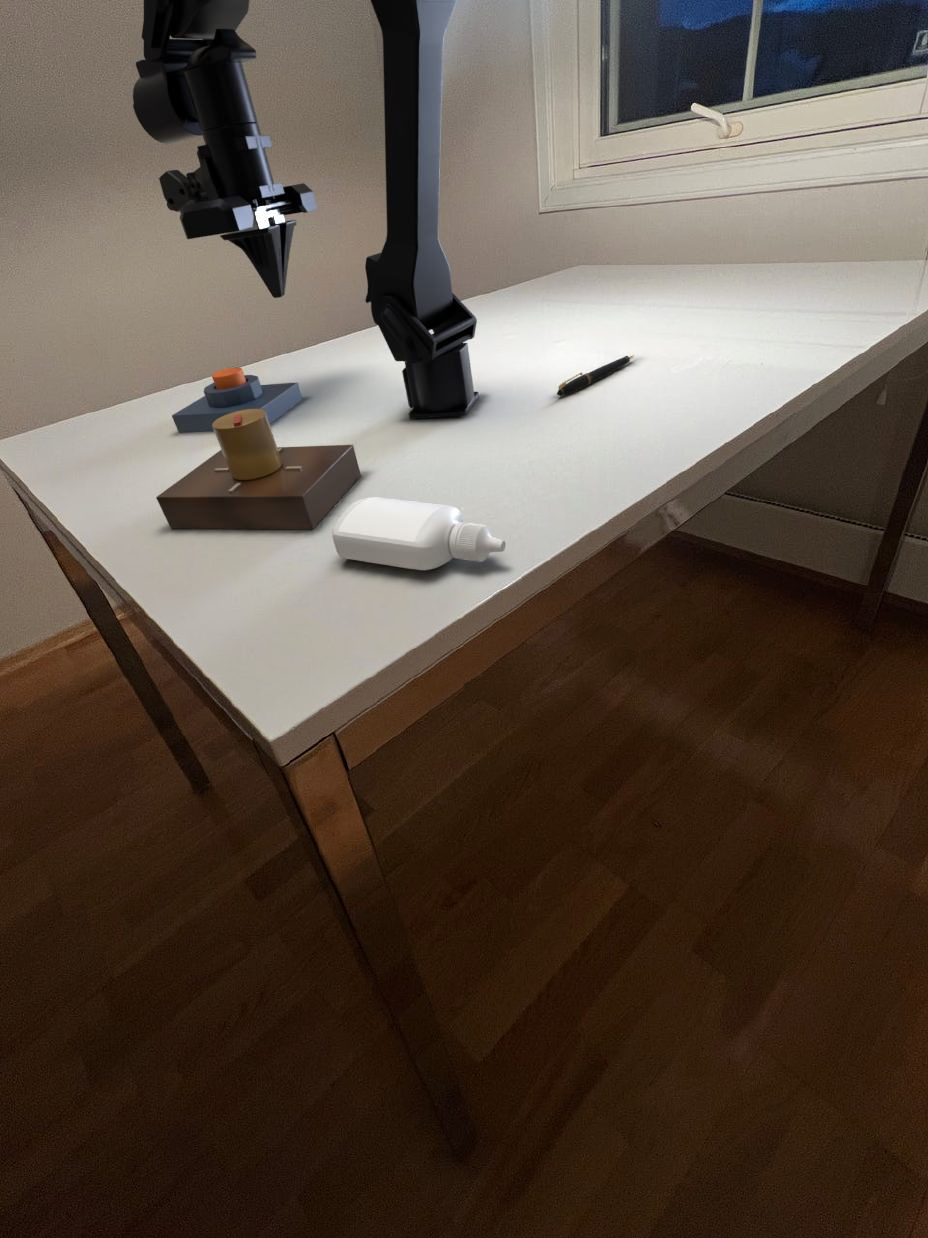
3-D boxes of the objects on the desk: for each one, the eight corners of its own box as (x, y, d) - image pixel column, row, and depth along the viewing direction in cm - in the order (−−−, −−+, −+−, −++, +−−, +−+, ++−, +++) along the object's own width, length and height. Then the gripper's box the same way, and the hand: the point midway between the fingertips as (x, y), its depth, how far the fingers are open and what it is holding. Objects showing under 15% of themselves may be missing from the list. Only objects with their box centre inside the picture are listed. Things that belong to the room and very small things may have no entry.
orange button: (252, 380, 77) (247, 366, 76) (236, 390, 75) (231, 375, 74) (227, 382, 78) (222, 368, 77) (211, 392, 76) (205, 377, 75)
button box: (303, 399, 81) (293, 367, 78) (263, 429, 73) (251, 394, 71) (223, 404, 84) (212, 373, 82) (178, 433, 77) (164, 400, 74)
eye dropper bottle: (330, 494, 43) (487, 511, 38) (378, 497, 48) (523, 512, 43) (327, 558, 44) (480, 583, 39) (374, 554, 49) (516, 576, 44)
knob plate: (361, 475, 58) (352, 442, 56) (313, 529, 50) (301, 493, 49) (232, 477, 62) (220, 447, 60) (170, 528, 55) (154, 495, 53)
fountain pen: (631, 360, 74) (631, 346, 74) (639, 361, 74) (639, 347, 73) (552, 399, 67) (551, 385, 66) (561, 401, 67) (560, 386, 66)
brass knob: (232, 466, 56) (212, 412, 53) (281, 454, 57) (264, 401, 54) (230, 485, 52) (208, 428, 50) (283, 472, 53) (264, 416, 50)
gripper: (214, 139, 73) (259, 287, 83) (104, 145, 59) (173, 323, 68) (298, 121, 70) (335, 277, 79) (203, 123, 56) (261, 313, 65)
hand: (279, 296), depth 73 cm, fingers closed
